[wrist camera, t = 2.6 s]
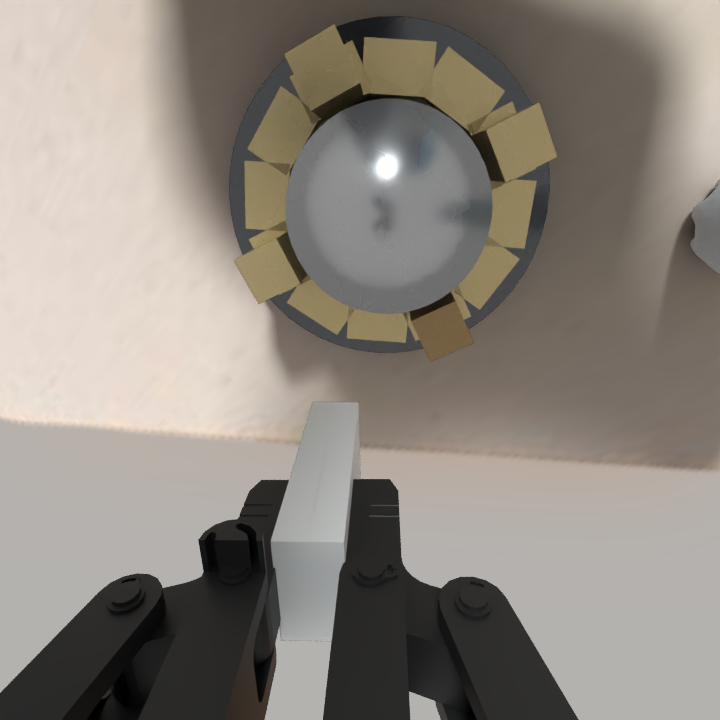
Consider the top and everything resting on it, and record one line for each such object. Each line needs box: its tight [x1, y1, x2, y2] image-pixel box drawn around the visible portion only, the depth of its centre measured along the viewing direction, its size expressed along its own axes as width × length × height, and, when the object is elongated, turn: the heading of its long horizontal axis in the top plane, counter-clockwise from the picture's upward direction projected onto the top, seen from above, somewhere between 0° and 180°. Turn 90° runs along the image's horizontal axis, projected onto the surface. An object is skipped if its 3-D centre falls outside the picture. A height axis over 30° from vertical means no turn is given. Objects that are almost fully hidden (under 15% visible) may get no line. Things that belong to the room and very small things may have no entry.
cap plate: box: [229, 16, 549, 353], centre depth 26 cm, size 18×18×9 cm
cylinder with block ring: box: [234, 24, 557, 362], centre depth 26 cm, size 15×15×5 cm
